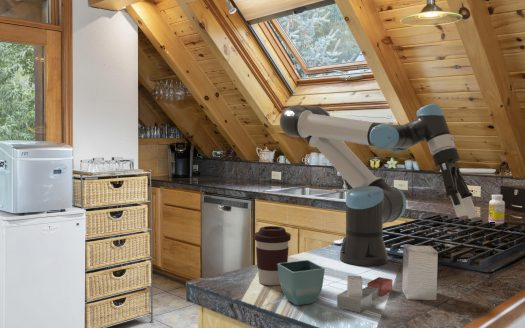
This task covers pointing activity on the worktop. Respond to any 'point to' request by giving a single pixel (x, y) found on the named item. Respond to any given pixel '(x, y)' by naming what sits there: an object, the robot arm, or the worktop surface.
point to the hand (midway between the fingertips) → (468, 217)
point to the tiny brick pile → (362, 293)
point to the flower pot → (301, 281)
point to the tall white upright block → (420, 272)
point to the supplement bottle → (496, 209)
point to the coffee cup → (271, 252)
